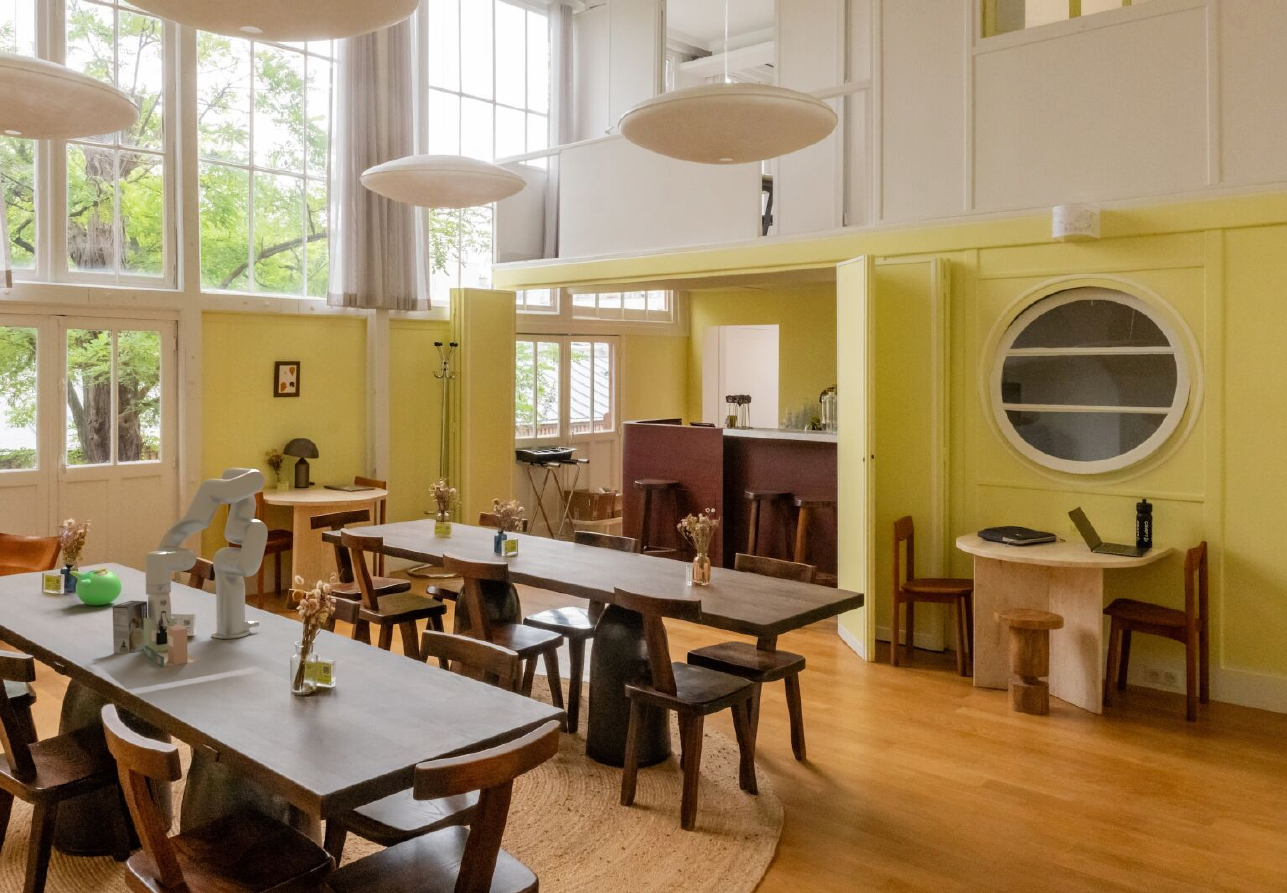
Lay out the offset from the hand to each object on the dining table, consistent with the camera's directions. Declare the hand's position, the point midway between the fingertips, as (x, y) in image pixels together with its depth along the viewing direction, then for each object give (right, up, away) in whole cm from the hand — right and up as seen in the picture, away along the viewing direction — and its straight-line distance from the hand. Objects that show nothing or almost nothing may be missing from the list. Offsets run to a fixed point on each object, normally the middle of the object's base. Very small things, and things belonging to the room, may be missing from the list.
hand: (159, 641), depth 327 cm
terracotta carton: (+13, -4, -14) cm, 19 cm away
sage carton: (0, -4, 0) cm, 4 cm away
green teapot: (-59, +1, +69) cm, 90 cm away
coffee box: (-11, -4, +4) cm, 12 cm away
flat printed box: (+9, -5, -9) cm, 14 cm away
